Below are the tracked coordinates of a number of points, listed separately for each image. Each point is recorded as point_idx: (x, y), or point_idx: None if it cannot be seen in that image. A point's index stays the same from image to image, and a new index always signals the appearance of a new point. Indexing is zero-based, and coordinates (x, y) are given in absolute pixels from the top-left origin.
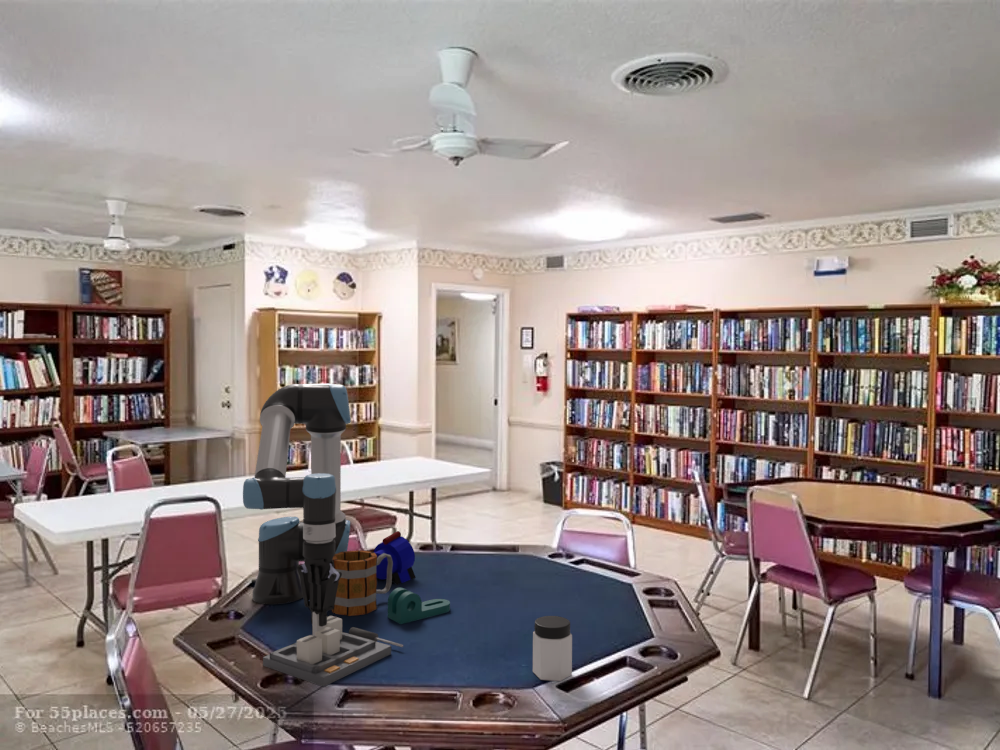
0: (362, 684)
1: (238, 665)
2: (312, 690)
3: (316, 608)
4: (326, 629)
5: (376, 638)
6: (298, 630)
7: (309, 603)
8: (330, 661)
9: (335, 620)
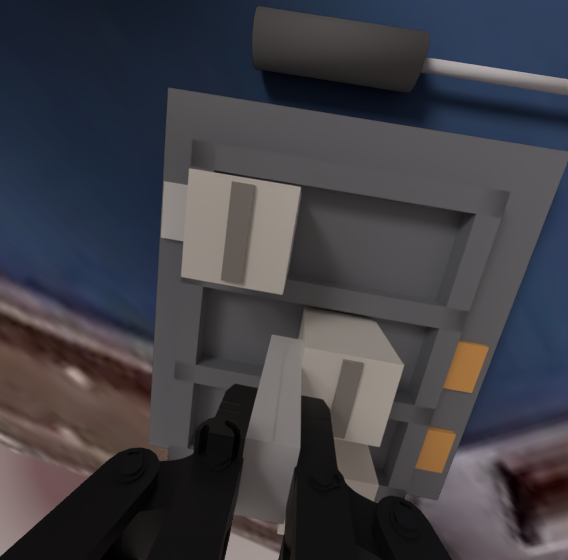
0: (536, 424)
1: (100, 443)
2: (406, 497)
3: (234, 502)
4: (322, 381)
5: (431, 70)
6: (5, 106)
7: (145, 549)
8: (419, 445)
9: (279, 236)
